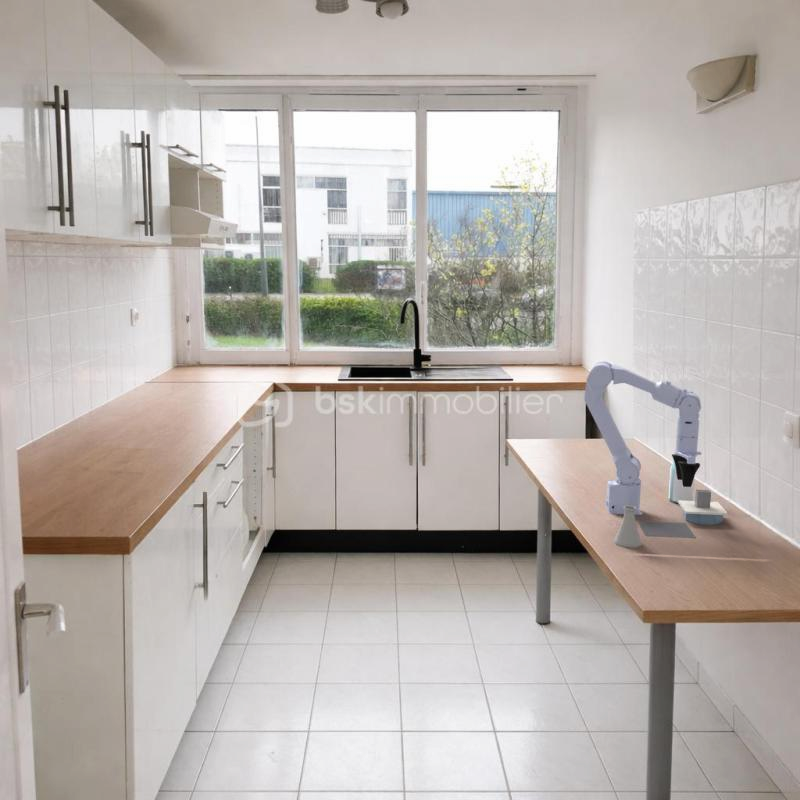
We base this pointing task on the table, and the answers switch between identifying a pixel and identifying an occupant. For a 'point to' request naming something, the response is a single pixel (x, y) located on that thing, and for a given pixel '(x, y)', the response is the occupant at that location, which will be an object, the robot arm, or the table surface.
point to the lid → (702, 504)
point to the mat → (666, 529)
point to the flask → (628, 530)
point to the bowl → (703, 518)
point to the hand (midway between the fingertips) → (684, 483)
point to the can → (679, 488)
